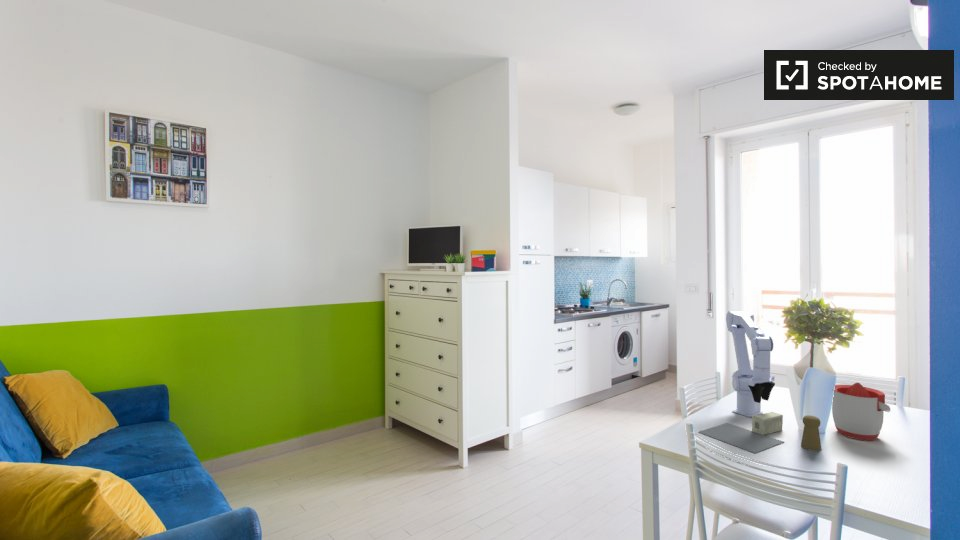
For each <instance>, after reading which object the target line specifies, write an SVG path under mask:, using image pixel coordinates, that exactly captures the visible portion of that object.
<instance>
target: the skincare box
mask: <svg viewBox="0 0 960 540" xmlns="http://www.w3.org/2000/svg"><path fill="white" fill-rule="evenodd" d="M783 416H784V415H783V414H782V413H777V412H774V411H770V412H765V413H761V414H758V415H755V416H752V417H751V431H752V432H755V433H758V434H761V435H768V434H771V433H776V432H780V431H783V424H784V423H783V422H784V420H783V419H784V417H783Z"/></svg>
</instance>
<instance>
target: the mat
mask: <svg viewBox="0 0 960 540" xmlns="http://www.w3.org/2000/svg"><path fill="white" fill-rule="evenodd" d="M698 433H699V434H701V435H704V436H707V437H709V438H712V439H715V440H717V441H720V442H722V443H726V444H728V445H730V446H733V447H736V448H739V449H742V450H744V451H747V452H749V453H752V454H754V455H755V454H758V453H761V452H763V451H766V450H768V449H771V448H773V447H775V446H779V445H781V443H782V444H783V443H785V441H783V440H781V439H777V438H774V437H772V436H769V435H766V434H764V435H761V434H758V433H755V432H752V430H750V429H747V428H744V427H741V426H738V425H735V424H733V423H729V422H725V423H722V424H719V425H715V426H712V427H710V428H706V429H702V430H699V431H698Z"/></svg>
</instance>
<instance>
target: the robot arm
mask: <svg viewBox="0 0 960 540" xmlns="http://www.w3.org/2000/svg"><path fill="white" fill-rule="evenodd" d="M725 315H726V317H725V321H726V327H727V328H726V329H727V331H729V333H731V334H732V338H733V345H734V351H735V358H736V362H737V370H736V371H735V372H733V373H732V376H731V377H732V378H731V379H732V383H731V384H732V388H733V390H734V391H735V392H736V409H734V410H733V409H732V413H735V414H737V415H738V414H739V415H741V416H745V417H749V418H752V416H755V415H760V414H764V413H763V411H761V406H762V404H761V401H762V400H763V401H769V399H770V395H771V392H772V390H773V388H774V387H775V384H776V383H775V382H774V381H775V375H772V374H771V352H772V351H773V350H774V341H773V338H772V336H768V335H765V333H764V332H763V330H762V329H761V328H760V327H759V326H756V325H755V323H754V322H755V316H754V312H752V311H751V310H749V311H739V310H738V311H737V310H736V311H733V310H729V311H727V313H726V314H725ZM746 337H747V338H748V340H749V341H750V346H751V354H752V355H753V356H752V357H753V360H752V361H753V365H752V367H753V369H752V367H751V363H750V362H751V361H750V358H749V357H750V356H749V351H748V344H747V339H746Z"/></svg>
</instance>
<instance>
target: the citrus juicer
mask: <svg viewBox="0 0 960 540" xmlns="http://www.w3.org/2000/svg"><path fill="white" fill-rule="evenodd" d="M834 386H835V390H834V397H833V402H831V405H832V407H831V409H832V410H831V413H832V419H833V422H834V426H835V429H836V430H837V433H839V434H840V435H842V436H846V437H847V438H852V439H856V440H860V439H861V440H860V441H864V440H867V441H874V440H876V439H877V438H878V437H879V435H880V433H881V431H882V427H883V424H884V412H887V413H890V412H891V408H890V407H891V406H890V405H888V404H887V403H886V402H885V399H886V393H884V392H883V391H880V390H879V389H875V388H871V387H866V386H863V385H862V384H861V383H859V382H855V383H853V384H836V385H834Z"/></svg>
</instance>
